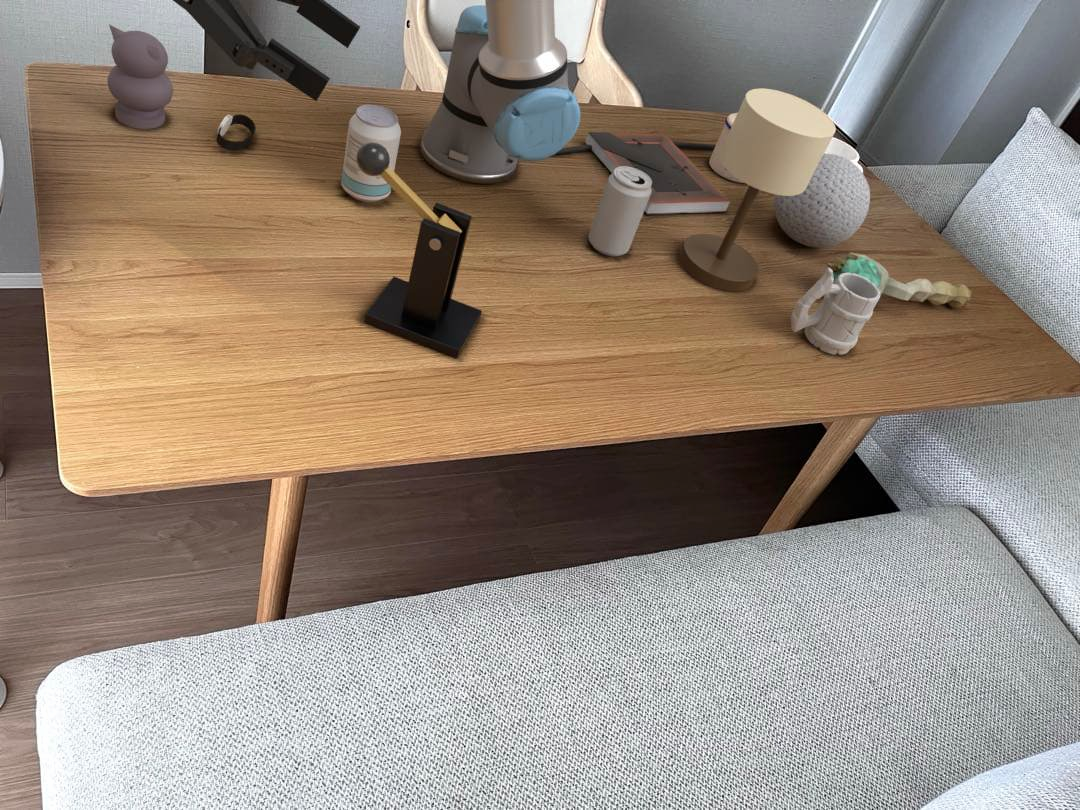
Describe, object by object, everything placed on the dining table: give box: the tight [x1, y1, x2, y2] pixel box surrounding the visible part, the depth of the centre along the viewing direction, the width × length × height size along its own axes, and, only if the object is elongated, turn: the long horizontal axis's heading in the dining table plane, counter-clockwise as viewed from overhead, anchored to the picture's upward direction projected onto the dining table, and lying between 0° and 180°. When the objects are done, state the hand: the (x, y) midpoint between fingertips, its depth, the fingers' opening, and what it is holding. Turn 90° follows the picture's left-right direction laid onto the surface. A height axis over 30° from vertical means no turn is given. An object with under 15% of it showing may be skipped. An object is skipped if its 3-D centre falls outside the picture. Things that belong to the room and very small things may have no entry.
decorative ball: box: [773, 154, 871, 248], centre depth 150 cm, size 15×15×15 cm
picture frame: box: [584, 131, 731, 215], centre depth 156 cm, size 16×2×22 cm
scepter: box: [827, 252, 973, 308], centre depth 146 cm, size 9×8×30 cm
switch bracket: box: [363, 202, 483, 359], centre depth 107 cm, size 12×9×15 cm
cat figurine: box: [106, 24, 174, 130], centre depth 124 cm, size 8×8×12 cm
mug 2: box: [790, 267, 881, 356], centre depth 129 cm, size 8×12×12 cm, turn 102°
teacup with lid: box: [708, 112, 745, 184], centre depth 164 cm, size 12×9×12 cm
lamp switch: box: [356, 142, 462, 232], centre depth 102 cm, size 14×4×4 cm, turn 75°
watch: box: [215, 113, 257, 152], centre depth 129 cm, size 8×5×4 cm, turn 169°
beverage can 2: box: [588, 166, 652, 257], centre depth 132 cm, size 6×6×12 cm
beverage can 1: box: [340, 104, 402, 203], centre depth 125 cm, size 7×7×12 cm
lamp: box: [679, 87, 837, 293], centre depth 132 cm, size 13×13×26 cm
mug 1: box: [824, 136, 864, 174], centre depth 164 cm, size 11×9×10 cm
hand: (339, 62), depth 98 cm, fingers open, 13 cm apart
